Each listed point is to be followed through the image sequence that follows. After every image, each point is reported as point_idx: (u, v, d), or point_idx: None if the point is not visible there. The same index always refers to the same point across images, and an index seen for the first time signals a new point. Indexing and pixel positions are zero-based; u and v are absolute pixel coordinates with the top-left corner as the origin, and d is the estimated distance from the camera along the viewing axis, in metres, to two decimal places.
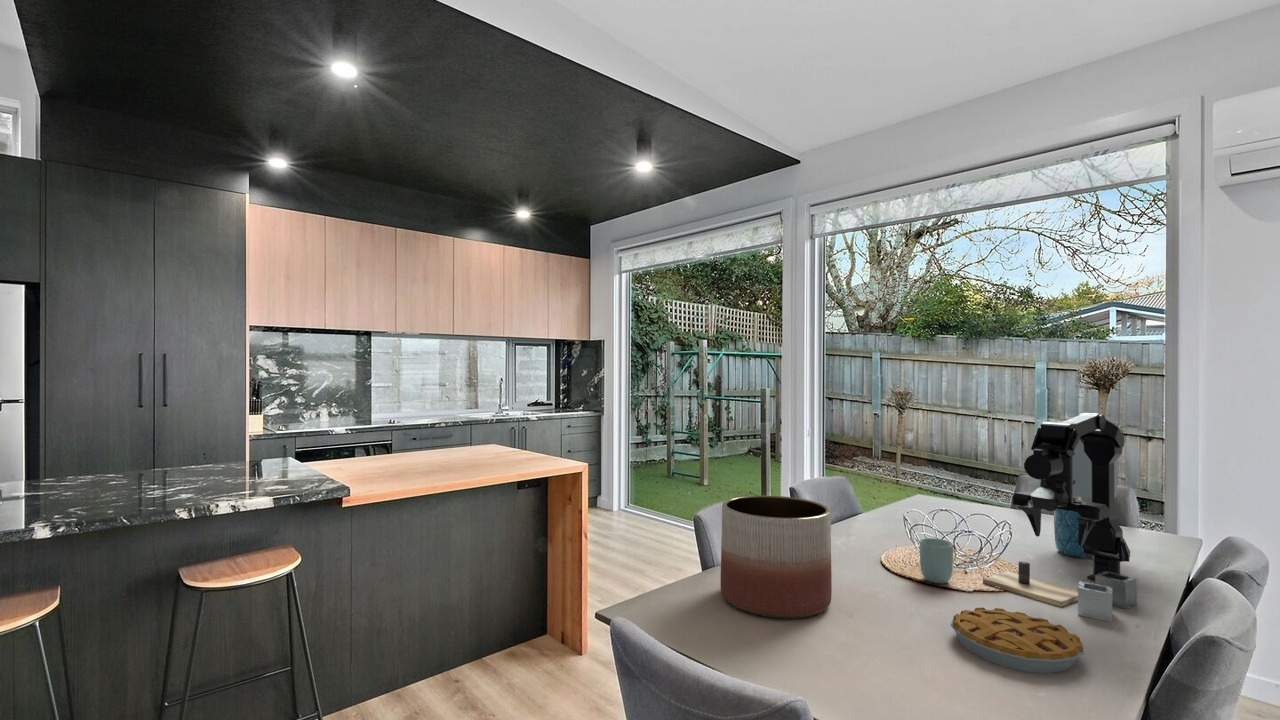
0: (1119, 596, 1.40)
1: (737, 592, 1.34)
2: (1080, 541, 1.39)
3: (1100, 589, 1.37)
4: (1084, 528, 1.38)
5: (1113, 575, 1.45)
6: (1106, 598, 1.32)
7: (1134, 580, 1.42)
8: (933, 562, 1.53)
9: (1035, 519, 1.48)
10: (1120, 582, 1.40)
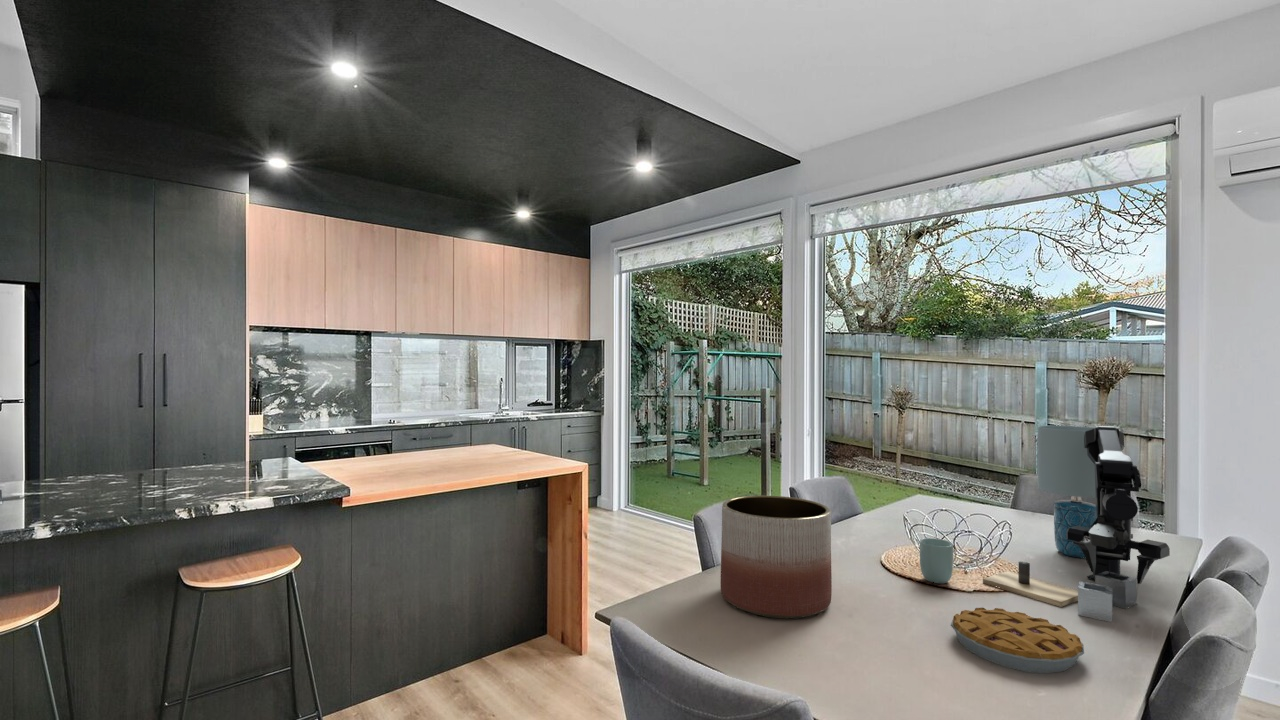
0: (1119, 596, 1.40)
1: (737, 592, 1.34)
2: (1139, 579, 1.39)
3: (1100, 589, 1.37)
4: (1144, 566, 1.38)
5: (1113, 575, 1.45)
6: (1106, 598, 1.32)
7: (1134, 580, 1.42)
8: (933, 562, 1.53)
9: (1090, 555, 1.47)
10: (1120, 582, 1.40)
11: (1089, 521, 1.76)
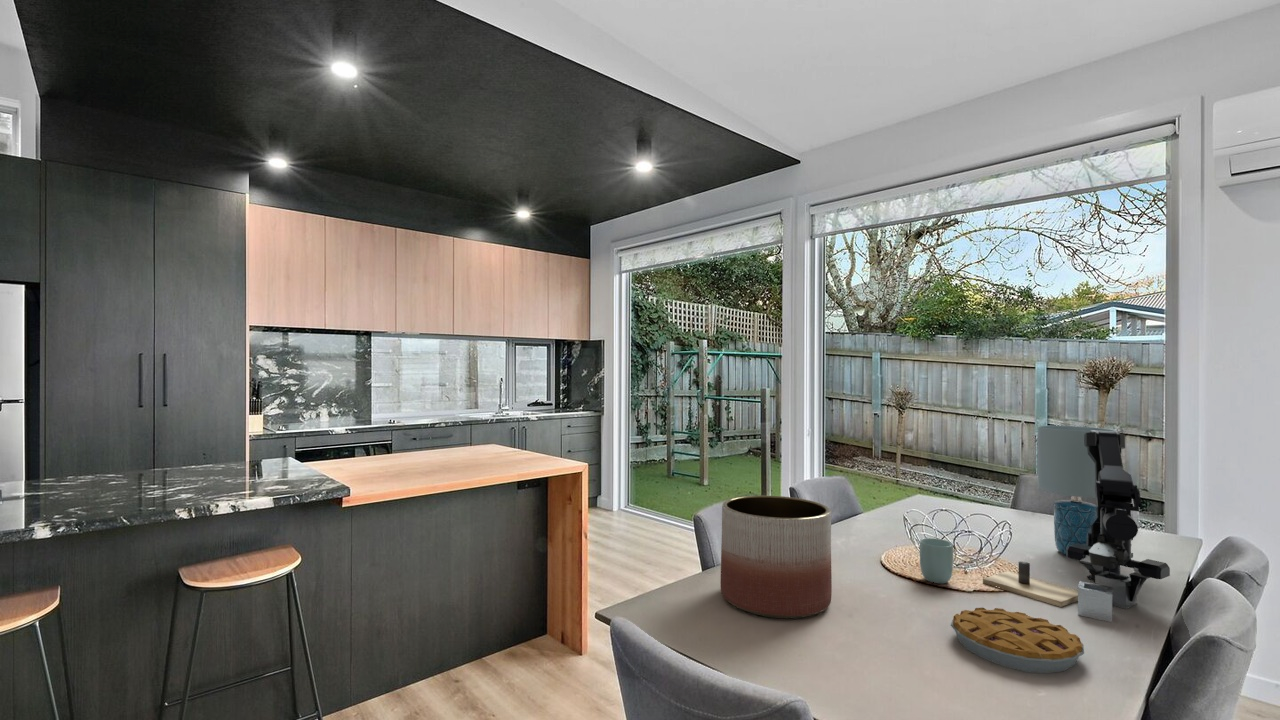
0: (1119, 596, 1.40)
1: (737, 592, 1.34)
2: (1132, 597, 1.40)
3: (1100, 589, 1.37)
4: (1136, 584, 1.39)
5: (1113, 575, 1.45)
6: (1106, 598, 1.32)
7: None
8: (933, 562, 1.53)
9: None
10: (1120, 582, 1.40)
11: (1089, 521, 1.76)
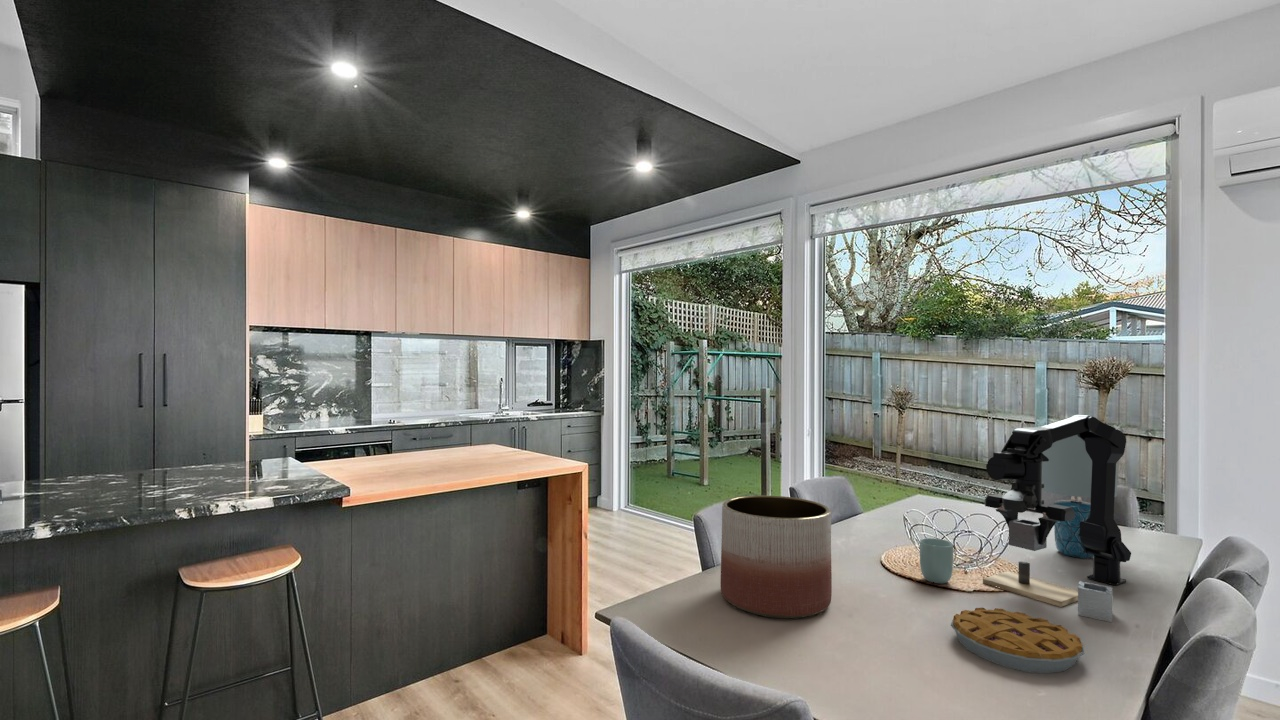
0: (1029, 540, 1.49)
1: (737, 592, 1.34)
2: (1041, 540, 1.48)
3: (1100, 589, 1.37)
4: (1045, 528, 1.47)
5: (1026, 522, 1.54)
6: (1106, 598, 1.32)
7: None
8: (933, 562, 1.53)
9: None
10: (1030, 526, 1.48)
11: None
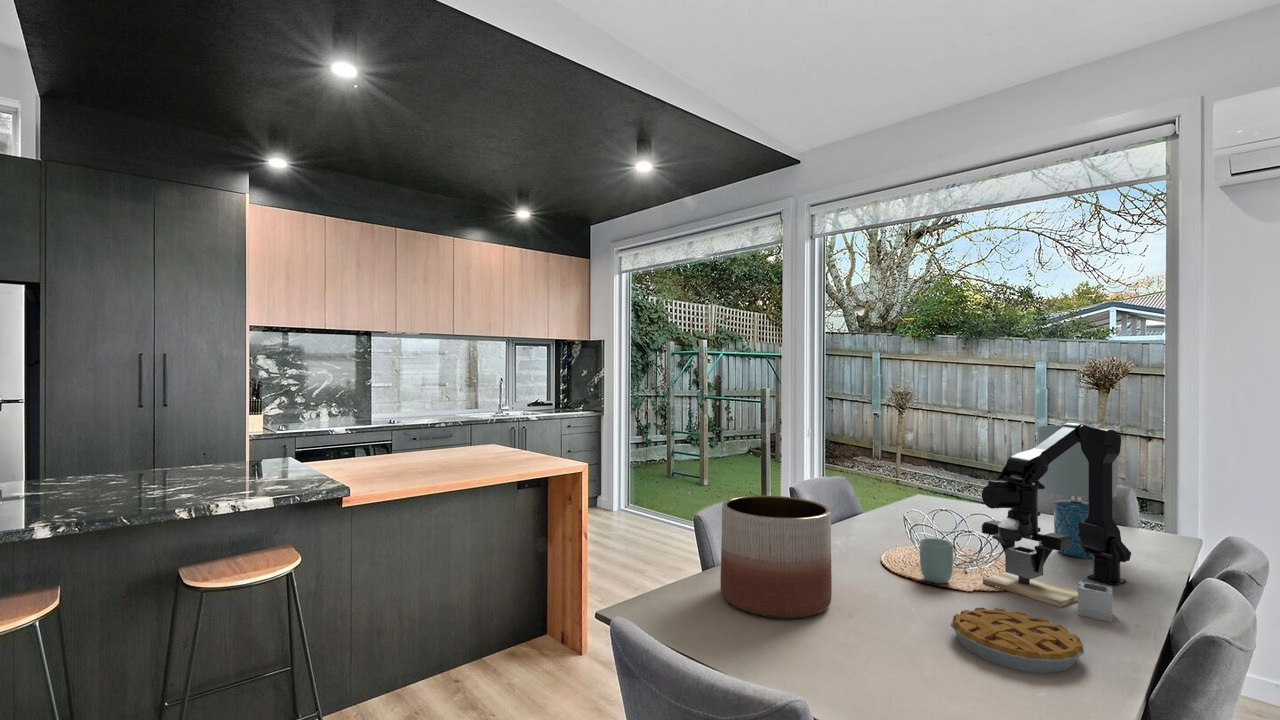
0: (1025, 568, 1.49)
1: (737, 592, 1.34)
2: (1037, 568, 1.49)
3: (1100, 589, 1.37)
4: (1041, 556, 1.48)
5: (1023, 549, 1.54)
6: (1106, 598, 1.32)
7: None
8: (933, 562, 1.53)
9: None
10: (1026, 554, 1.49)
11: None
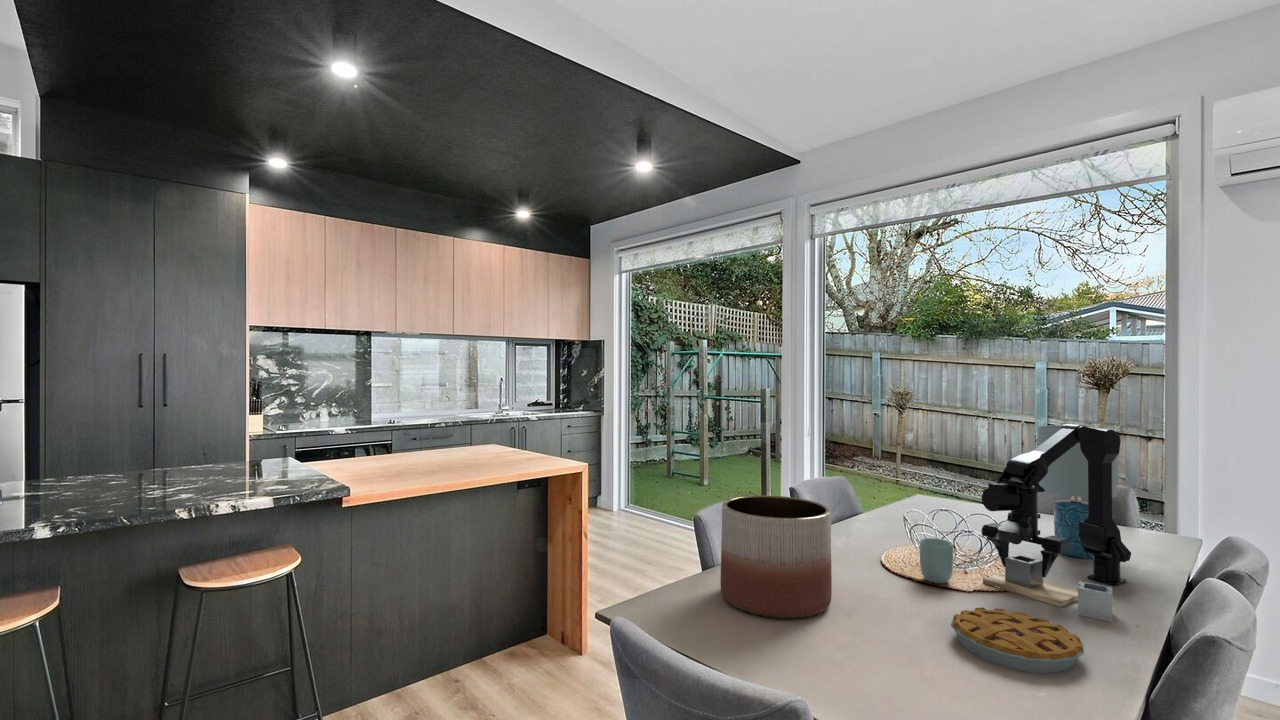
0: (1025, 577, 1.49)
1: (737, 592, 1.34)
2: (1044, 573, 1.48)
3: (1100, 589, 1.37)
4: (1047, 561, 1.46)
5: (1023, 558, 1.54)
6: (1106, 598, 1.32)
7: (1040, 562, 1.51)
8: (933, 562, 1.53)
9: (1002, 550, 1.56)
10: (1026, 564, 1.49)
11: None
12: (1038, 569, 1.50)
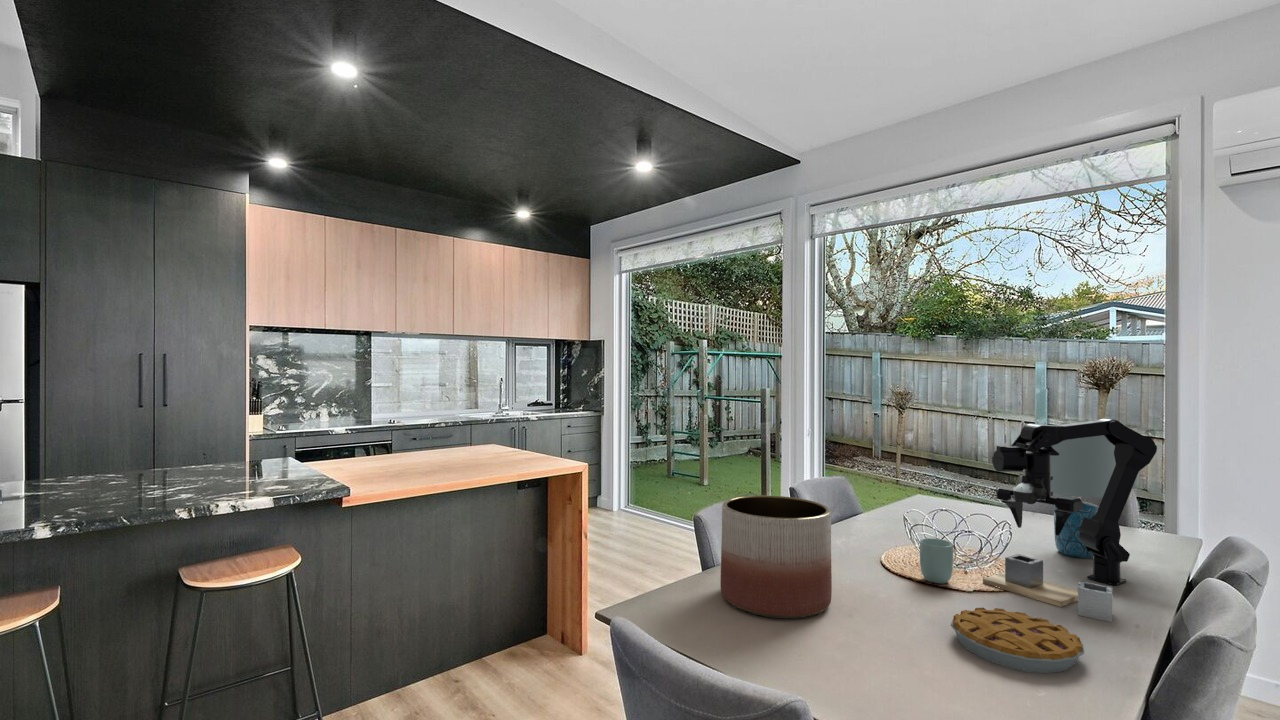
0: (1025, 577, 1.49)
1: (737, 592, 1.34)
2: (1057, 531, 1.55)
3: (1100, 589, 1.37)
4: (1060, 519, 1.54)
5: (1023, 558, 1.54)
6: (1106, 598, 1.32)
7: (1040, 562, 1.51)
8: (933, 562, 1.53)
9: (1017, 512, 1.63)
10: (1026, 564, 1.49)
11: None
12: (1038, 569, 1.50)
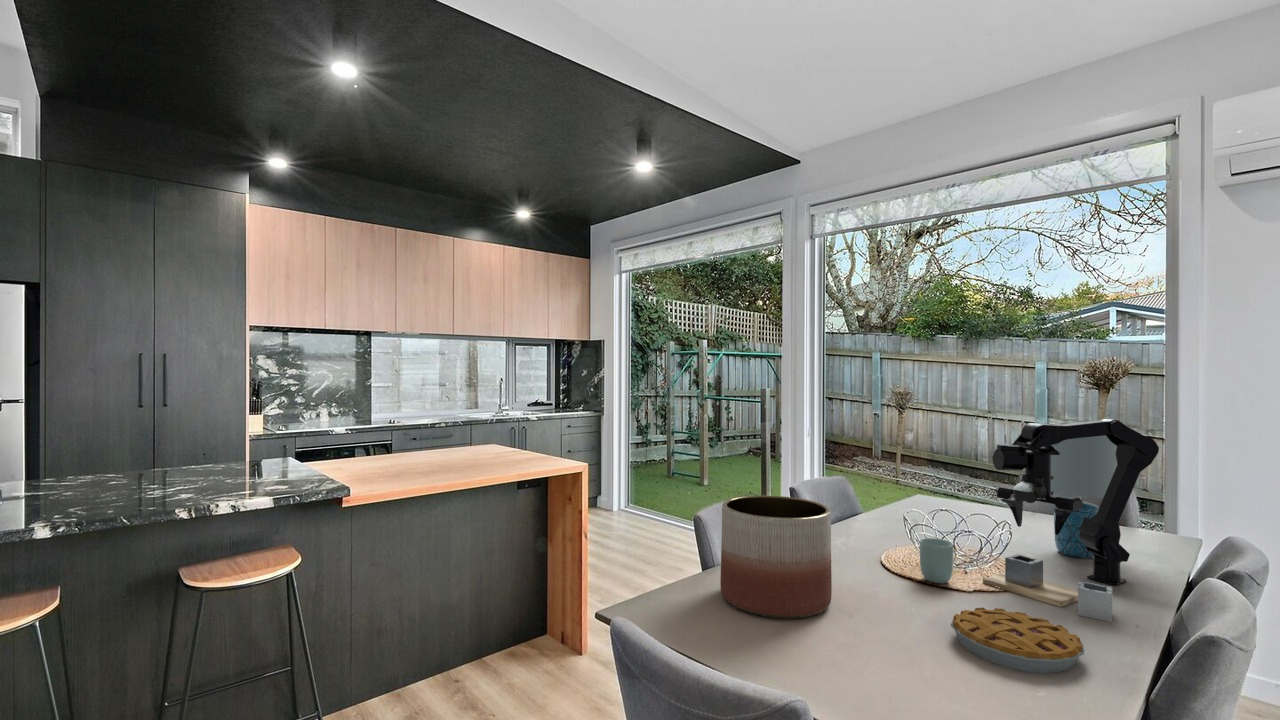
0: (1025, 577, 1.49)
1: (737, 592, 1.34)
2: (1057, 530, 1.55)
3: (1100, 589, 1.37)
4: (1060, 518, 1.54)
5: (1023, 558, 1.54)
6: (1106, 598, 1.32)
7: (1040, 562, 1.51)
8: (933, 562, 1.53)
9: (1017, 511, 1.63)
10: (1026, 564, 1.49)
11: None
12: (1038, 569, 1.50)
